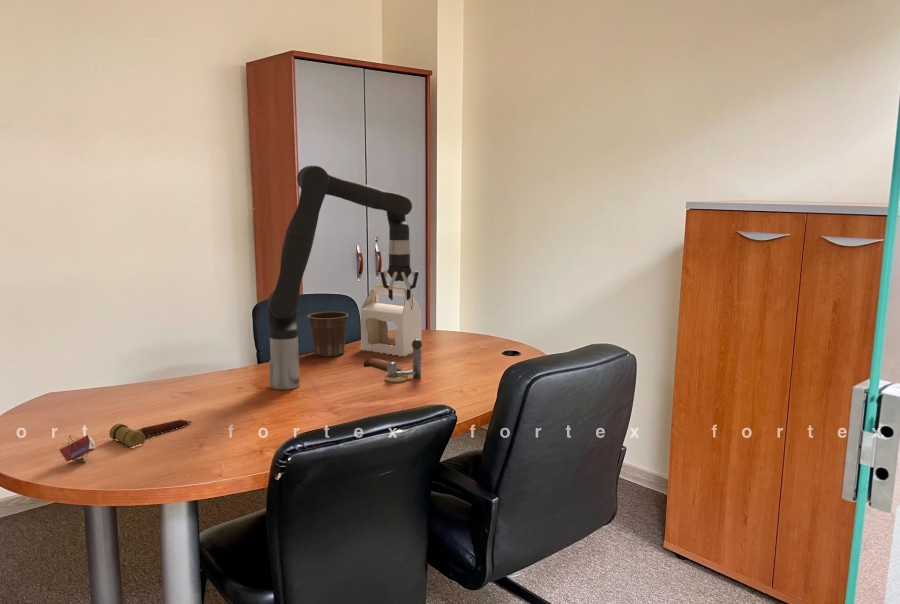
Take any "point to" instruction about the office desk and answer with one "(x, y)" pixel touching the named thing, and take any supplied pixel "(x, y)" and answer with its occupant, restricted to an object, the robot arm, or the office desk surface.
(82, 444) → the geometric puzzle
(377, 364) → the sunglasses case
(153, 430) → the gavel
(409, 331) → the gable box
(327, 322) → the plant pot
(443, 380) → the office desk surface
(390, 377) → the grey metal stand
